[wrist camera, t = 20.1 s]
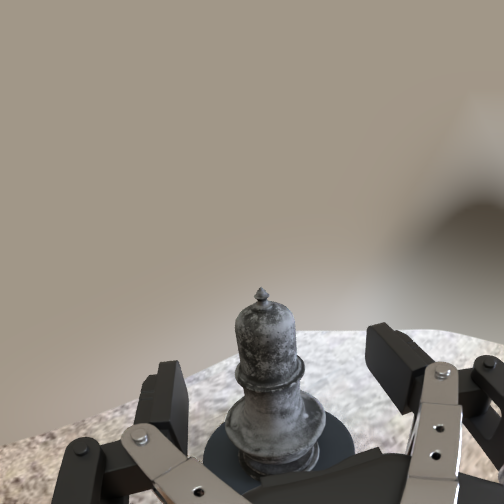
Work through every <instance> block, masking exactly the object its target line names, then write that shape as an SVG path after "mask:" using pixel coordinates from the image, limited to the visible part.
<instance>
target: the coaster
mask: <svg viewBox="0 0 504 504" xmlns="http://www.w3.org/2000/svg"><path fill="white" fill-rule="evenodd" d="M325 414H326V422H325V427H324V429H323V432H322V434H321V435H320V437H319V438H318V439H317V442H318V445H319V449H320V450H319V459H318V461H317V463H316V465H315V467H314V468H313V469H312V470H311V471H318V470H325V469H327V468H329V467H331V466H333V465H335V464H337V463H339V462H341V461H343V460H344V459H346V458H348V457H350V456H352V455H355V448H354V443H353V440H352V437H351V435H350V433H349V431H348V430H347V428H346V427H345V426H344V425H343V423H342V422H341V421H339V420H338V419H337V418H336V417H334V416H333V415H331V414H330V413H328V412H326V411H325ZM238 452H239V448H238V447H236V446H235V445H234V444H233V443H232V441H231V440H230V439H229V437H228V435H227V432H226V430H225V422H224V423H223V424H221V425H220V426H219V427H218V428H217V429H216V430H215V432H214V433H213V434H212V435H211V437H210V439H209V440H208V442H207V445H206V447H205V451H204V455H203V465H204V466H205V467H206V468H207V469H209V470H210V471H211V472H212V473H213V474H215V475H216V476H217V477H218V478H219V479H221V480H222V481H223V482H224V483H226V484H227V485H228V486H230V487H231V488H232V489H233V490H235V491H236V492H237V493H239V494H240V495H243V494H244V493H246V492H247V491H249V490H251V489H253V488H255V487H258V486H260V485H261V482H260V481H257V480H255V479H253V478H252V477H250V476H249V475H247V474H246V472H245V471H244V470H243V469H242V467H241V465H240V463H239V458H238Z"/></svg>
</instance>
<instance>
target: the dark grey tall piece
mask: <svg viewBox="0 0 504 504" xmlns="http://www.w3.org/2000/svg"><path fill="white" fill-rule="evenodd" d="M254 297H255V299H257V300H258V301H257V302H256V303H254V304H253V305H250V306H248V307H247V308H245V309H244V310H242V311H241V312H240V314H239V315H238V317H237V319H236V322H235V332H236V338H237V344H238V351H239V357H240V363H239V364H238V365H237V367H236V370H235V378H236V380H237V382H238V383H239V384H240V385H241V386H242V387H243V389H244V395H245V396H244V397H242V398H241V399H240V400H239V401H237V402H236V403H235V404H234V405H233V406H232V408H231V409H230V410H229V411H228V414H227V417H226V419H225V430H226V432H227V435H228V437H229V439H230V440H231V441H232V443H233V444H234V445H235V446H236V447H238V448H239V452H238V458H239V463H240V465H241V467H242V469H243V470H244V471H245V472H246V474H247V475H249V476H250V477H252V478H253V479H255V480H257V481H260V477H264V476H270V475H275V474H280V473H285V472H290V471H311V470H312V469H313V468H314V467H315V465H316V463H317V461H318V459H319V450H320V449H319V445H318V442H317V439H318V438H319V437H320V435H321V434H322V432H323V429H324V427H325V422H326V414H325V411H324V408H323V406H322V405H321V403H320V402H319V401H318V400H317V399H316V398H315V397H313V396H312V395H310V394H309V393H307V392H304V391H302V390H300V380H301V378H302V376H303V375H304V372H305V365H304V362H303V360H302V359H301V358H300V357H299V356H298V355H297V348H296V331H295V320H294V317H293V314H292V312H291V311H290V310H289V309H288V308H287V307H286V306H284V305H282V304H280V303H277V302H272V301H267V298H268V297H269V294H268V293H266V291H265V290H264V289H263V288H261V287H260V288H259V290H258V291H257V293H256V295H255V296H254ZM260 482H261V481H260Z"/></svg>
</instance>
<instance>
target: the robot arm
mask: <svg viewBox="0 0 504 504" xmlns="http://www.w3.org/2000/svg"><path fill="white" fill-rule="evenodd" d="M365 361H366V365H367V367H368V369H369V370H370V372H371V373H372V374H373V376H374V377H375V378H376V380H377V381H378V382H379V384H380V385H381V387H382V388H383V389H384V391H385V392H386V393H387V395H388V396H389V397H390V399H391V400H392V402H393V403H394V404H395V406H396V407H397V408H398V410H399V411H400V413H401V414H402V415H404V414H407V413H409V412H413V413H414V417H413V421H412V426H411V430H410V435H409V439H408V444H407V448H406V452H405V454H399V453H385V454H382V452H381V451H380V449H379V447H376V448H373V449H370V450H367V451H364V452H361V453H358V454H355V455H352V456H350V457H348V458H346V459H344V460H343V461H341V462H339V463H337V464H335V465H333V466H331V467H329V468H327V469H325V470H318V471H290V472H285V473H280V474H275V475H270V476H264V477H260V481H261V485H260V486H258V487H255V488H253V489H251V490H249V491H247V492H246V493H244V494H243V495H240V494H239V493H237V492H236V491H235V490H233V489H232V488H231V487H230V486H228V485H227V484H226V483H224V482H223V481H222V480H221V479H219V478H218V477H217V476H216V475H215V474H213V473H212V472H211V471H210V470H209V469H207V468H206V467H205V466H204V465H203V464H202V463H200V462H199V461H198V460H197V459H195V458H194V457H190V458H187V449H188V412H189V398H188V392H187V388H186V384H185V381H184V378H183V374H182V371H181V367H180V364H179V362H178V361H177V360H176V361H167V362H160V364H159V368H158V373H157V374H156V375H149V376H148V377H147V379H146V380H145V381H144V383H143V384H142V389H141V394H140V397H139V402H138V406H137V410H136V415H135V420H134V424H133V426H131V427H129V428H128V429H126V430H125V431H124V433H123V434H122V437H121V439H120V440H118V441H115V442H111V443H107V444H103V445H99V443H98V442H97V441H96V440H95V439H93V438H90V437H81V438H78V439H75V440H73V441H72V442H71V443H70V444H69V445H68V446H67V448H66V450H65V453H64V457H63V460H62V464H61V467H60V471H59V475H58V478H57V482H56V486H55V490H54V494H53V498H52V502H51V504H129V495H130V494H134V493H138V492H142V491H146V490H149V489H151V490H152V492H153V493H154V494H155V495H156V496H157V497H158V498H159V500H160V501H161V502H162V503H163V504H504V363H503V362H502V361H501V360H500V359H498V358H497V357H494V356H490V355H483V356H480V357H478V358H476V360H475V361H474V365H473V368H468V369H462V370H457V369H456V367H455V366H453V365H452V364H449V363H446V362H435V361H434V360H433V359H432V358H431V357H430V356H429V355H428V354H427V353H425V352H424V351H423V350H422V349H421V348H420V347H418V345H417V344H416V343H415V342H413V340H412V339H411V338H410V337H409V336H408V335H407V334H404V333H402V332H400V331H398V330H396V331H394V330H393V329H391V328H390V327H389V326H388V325H387V324H386V323H385V322H383V323H380V324H376V325H372V326H369V327H368V328H367V335H366V350H365ZM491 401H493V402H494V403H495V404H496V405H497V406H498V407H499V408H500V410H501V414H502V417H500V416H499V415H498V414H497V413H496V411H495V410H494V409H493V408H492V407H491V406H490V403H491ZM462 423H463V424H464V425H465V427H466V428H467V429H468V431H469V432H470V433H471V435H472V436H473V437H474V439H475V440H476V441H477V443H478V444H479V445H480V447H481V448H482V449H483V451H484V452H485V453H486V455H487V456H488V458H489V459H490V460H491V462H492V463H493V464H494V466H495V467H496V469H497V470H498V471H499V473H498V480H499V483H496V482H492V481H488V480H484V479H481V478H477V477H474V476H470V475H467V474H463V473H460V472H458V467H459V457H460V446H461V431H462Z"/></svg>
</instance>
